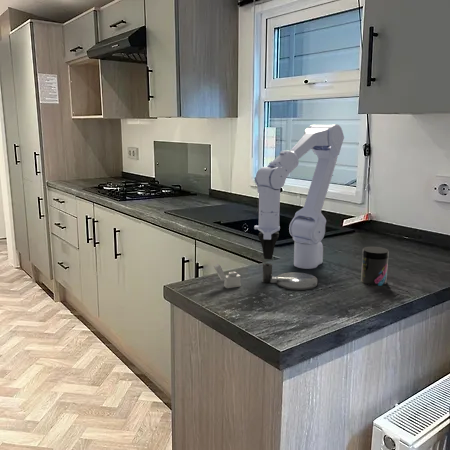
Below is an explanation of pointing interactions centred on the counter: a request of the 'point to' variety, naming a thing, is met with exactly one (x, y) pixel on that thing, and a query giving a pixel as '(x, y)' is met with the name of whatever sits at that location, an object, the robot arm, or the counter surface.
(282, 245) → the counter surface
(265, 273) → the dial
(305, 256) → the robot arm
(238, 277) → the lighter
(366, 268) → the supplement container
